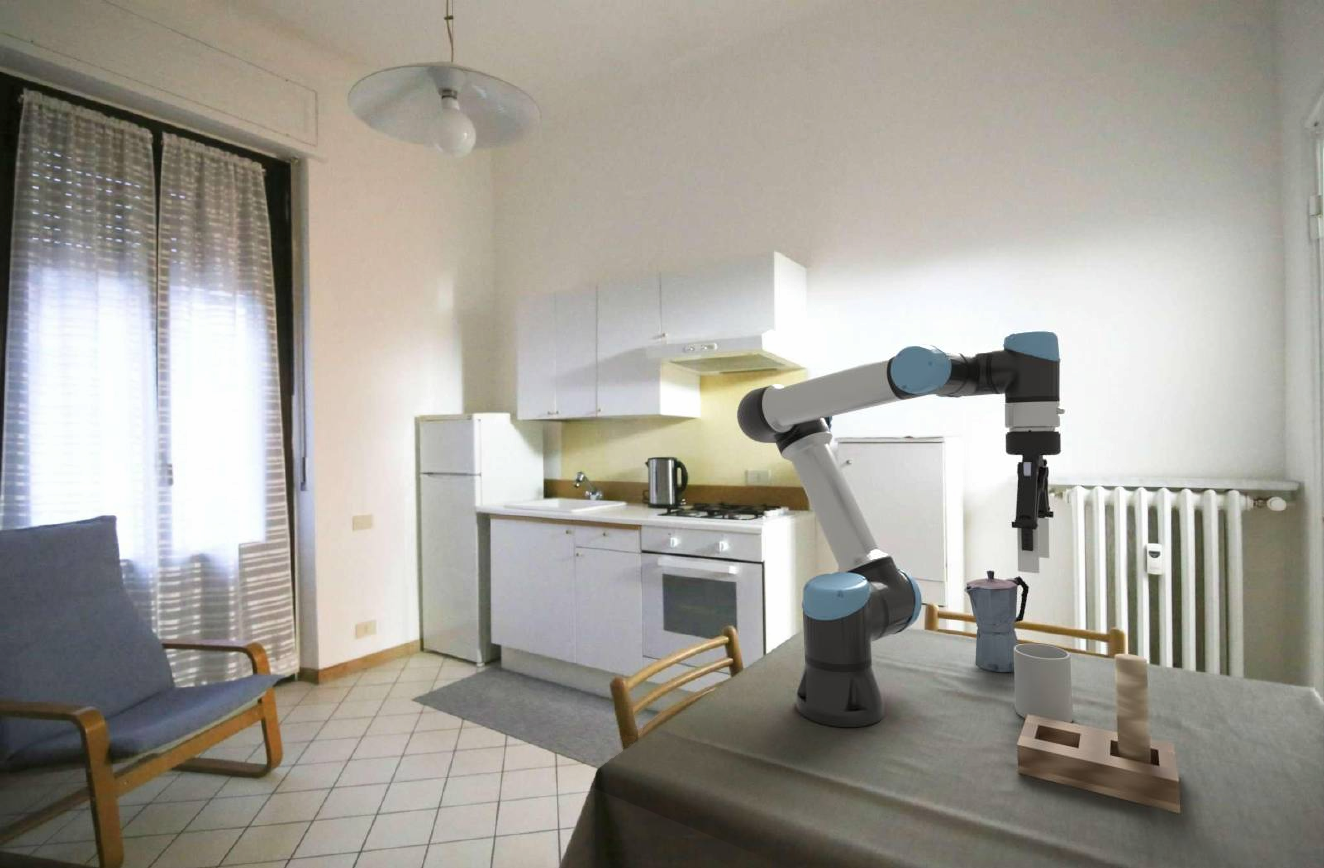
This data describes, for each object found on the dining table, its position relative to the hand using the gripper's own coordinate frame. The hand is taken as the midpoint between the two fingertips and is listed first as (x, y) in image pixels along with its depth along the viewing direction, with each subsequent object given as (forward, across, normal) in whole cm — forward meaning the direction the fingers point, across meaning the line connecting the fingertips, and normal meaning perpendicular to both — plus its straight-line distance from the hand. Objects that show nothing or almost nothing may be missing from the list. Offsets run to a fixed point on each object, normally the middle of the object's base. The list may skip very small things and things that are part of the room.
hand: (1034, 564), depth 100 cm
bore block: (+28, -7, -8) cm, 29 cm away
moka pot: (+28, +33, +10) cm, 45 cm away
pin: (+26, -7, -12) cm, 30 cm away
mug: (+28, +12, +1) cm, 31 cm away
